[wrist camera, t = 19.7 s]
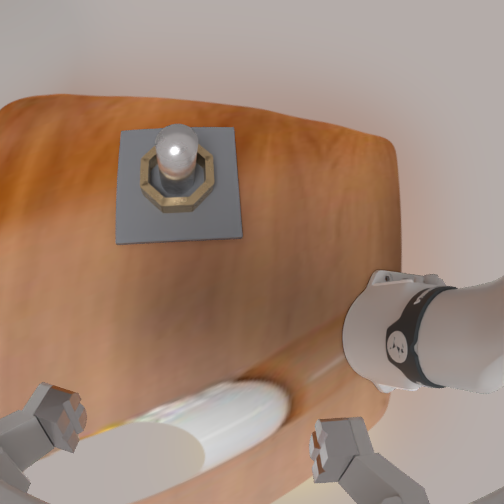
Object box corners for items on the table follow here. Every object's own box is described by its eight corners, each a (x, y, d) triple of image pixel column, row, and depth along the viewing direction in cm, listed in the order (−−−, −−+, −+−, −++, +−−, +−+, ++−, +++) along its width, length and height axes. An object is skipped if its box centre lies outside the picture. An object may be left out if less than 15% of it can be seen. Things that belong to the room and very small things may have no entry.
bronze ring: (210, 148, 41) (212, 137, 38) (213, 211, 40) (215, 203, 37) (144, 150, 39) (141, 140, 36) (142, 214, 38) (139, 207, 35)
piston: (193, 163, 40) (197, 123, 31) (194, 194, 39) (198, 160, 30) (160, 165, 39) (155, 124, 30) (160, 196, 39) (154, 162, 29)
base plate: (232, 130, 43) (233, 127, 42) (241, 238, 41) (242, 237, 40) (122, 134, 40) (121, 131, 39) (117, 245, 37) (115, 243, 36)
